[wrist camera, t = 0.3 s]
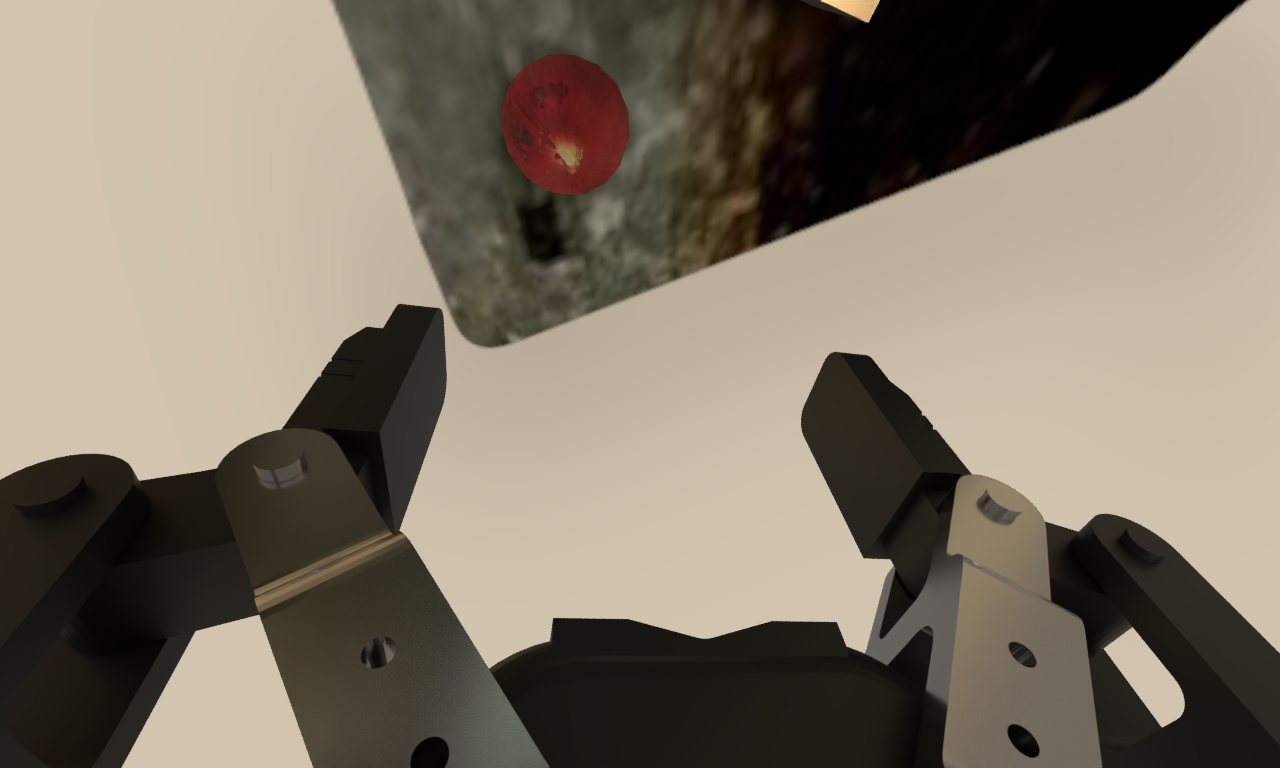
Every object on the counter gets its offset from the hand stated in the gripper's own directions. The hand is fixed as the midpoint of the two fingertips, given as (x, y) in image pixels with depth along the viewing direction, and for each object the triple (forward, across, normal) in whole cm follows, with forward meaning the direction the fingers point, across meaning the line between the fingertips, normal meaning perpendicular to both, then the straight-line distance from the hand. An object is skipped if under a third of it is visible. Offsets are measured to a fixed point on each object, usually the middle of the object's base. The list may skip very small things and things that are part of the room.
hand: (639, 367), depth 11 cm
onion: (+22, +2, -1) cm, 22 cm away
